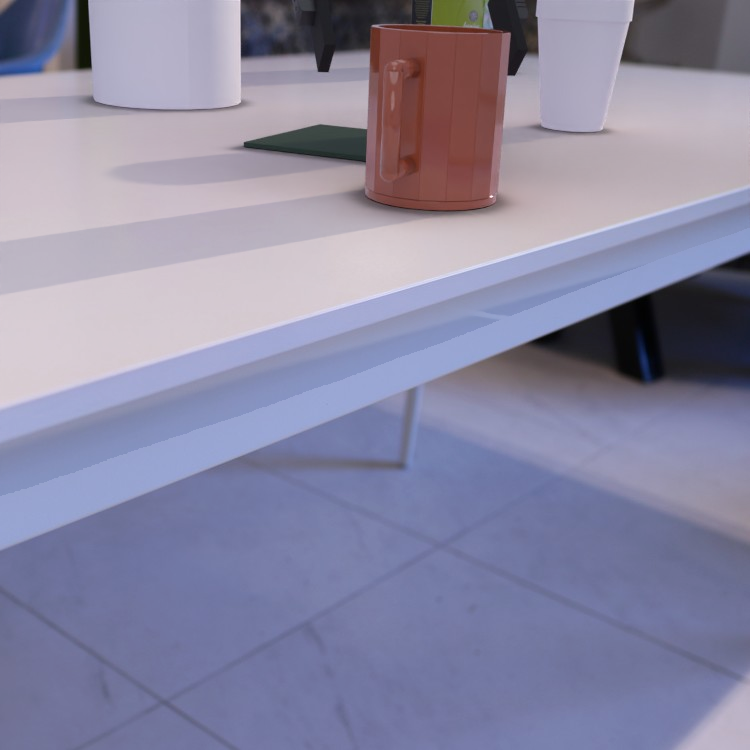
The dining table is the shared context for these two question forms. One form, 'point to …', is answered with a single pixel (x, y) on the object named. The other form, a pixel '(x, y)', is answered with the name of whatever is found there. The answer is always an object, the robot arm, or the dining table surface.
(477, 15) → the tea box
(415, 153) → the faceted clay mug
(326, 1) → the robot arm
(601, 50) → the foam cup
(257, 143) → the mat
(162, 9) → the canister
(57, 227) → the dining table surface
